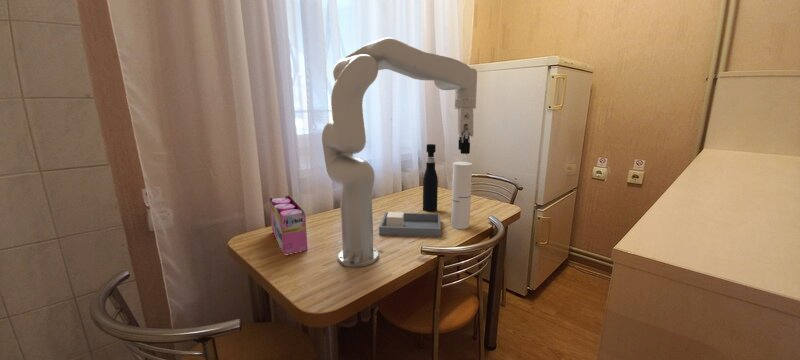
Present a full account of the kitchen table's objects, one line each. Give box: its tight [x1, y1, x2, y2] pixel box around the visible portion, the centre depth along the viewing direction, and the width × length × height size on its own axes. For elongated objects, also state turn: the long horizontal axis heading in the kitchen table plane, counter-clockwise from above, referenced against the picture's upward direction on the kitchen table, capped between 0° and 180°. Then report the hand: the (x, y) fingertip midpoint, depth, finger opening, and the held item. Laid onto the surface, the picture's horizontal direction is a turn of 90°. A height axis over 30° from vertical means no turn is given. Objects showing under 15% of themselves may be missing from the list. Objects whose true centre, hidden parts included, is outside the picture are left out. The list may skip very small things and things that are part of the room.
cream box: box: [386, 211, 405, 227], centre depth 122 cm, size 6×6×5 cm
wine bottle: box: [422, 143, 439, 213], centre depth 139 cm, size 6×6×30 cm
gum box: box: [268, 195, 309, 255], centre depth 112 cm, size 24×8×14 cm, turn 31°
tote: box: [378, 211, 442, 238], centre depth 122 cm, size 16×22×4 cm
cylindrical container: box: [450, 161, 473, 230], centre depth 123 cm, size 7×7×25 cm
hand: (463, 151), depth 120 cm, fingers open, 9 cm apart
